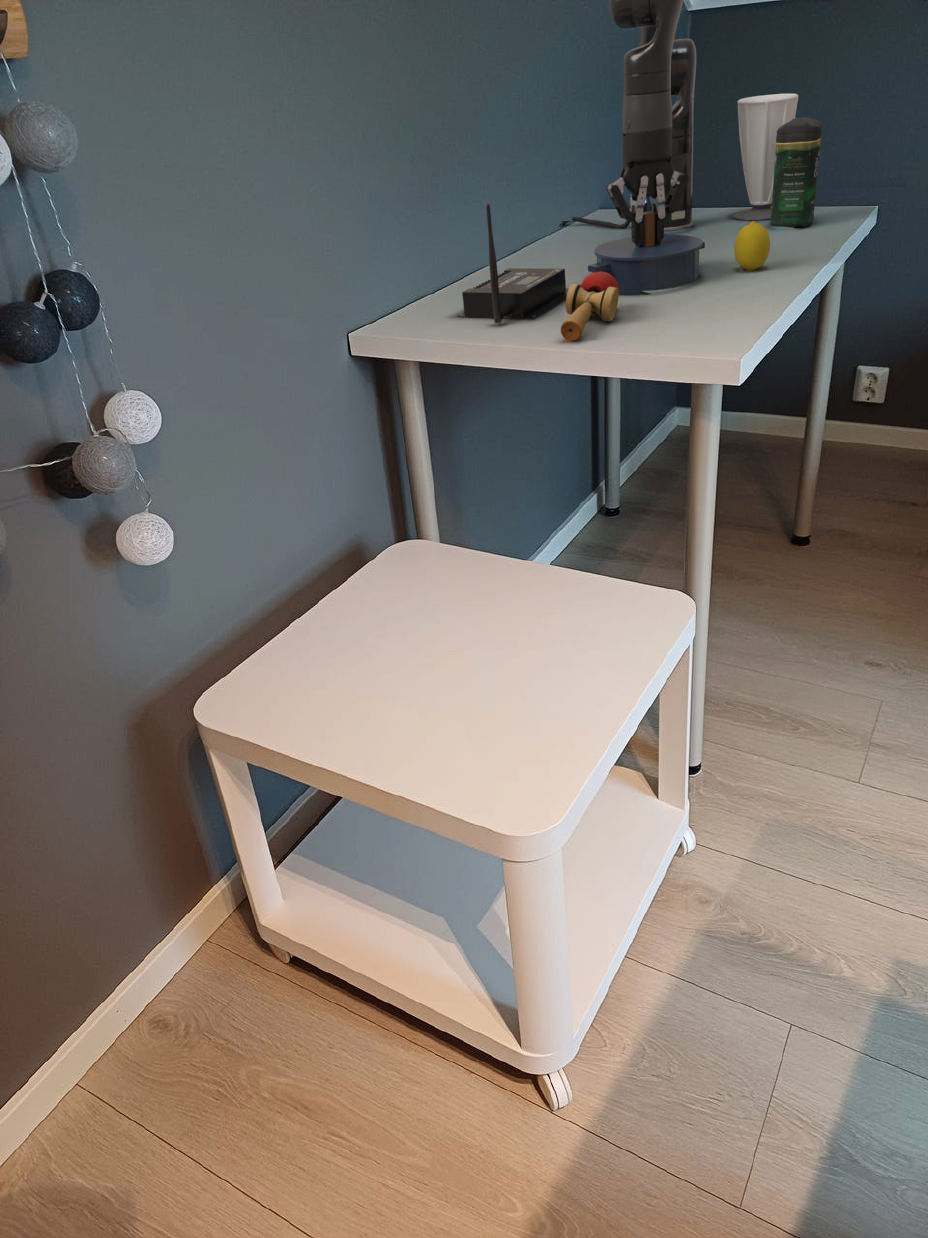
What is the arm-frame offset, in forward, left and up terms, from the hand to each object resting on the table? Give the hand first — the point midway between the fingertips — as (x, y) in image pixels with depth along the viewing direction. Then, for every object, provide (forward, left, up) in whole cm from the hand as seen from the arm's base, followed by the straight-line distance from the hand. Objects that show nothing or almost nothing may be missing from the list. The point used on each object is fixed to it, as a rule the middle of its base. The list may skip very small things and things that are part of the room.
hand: (647, 244), depth 154 cm
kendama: (+14, -21, -6) cm, 26 cm away
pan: (0, 0, -6) cm, 6 cm away
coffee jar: (-15, +46, -6) cm, 49 cm away
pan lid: (0, 0, -1) cm, 1 cm away
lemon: (+9, +14, -6) cm, 18 cm away
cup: (-28, +50, -6) cm, 58 cm away
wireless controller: (-4, -24, -6) cm, 25 cm away
